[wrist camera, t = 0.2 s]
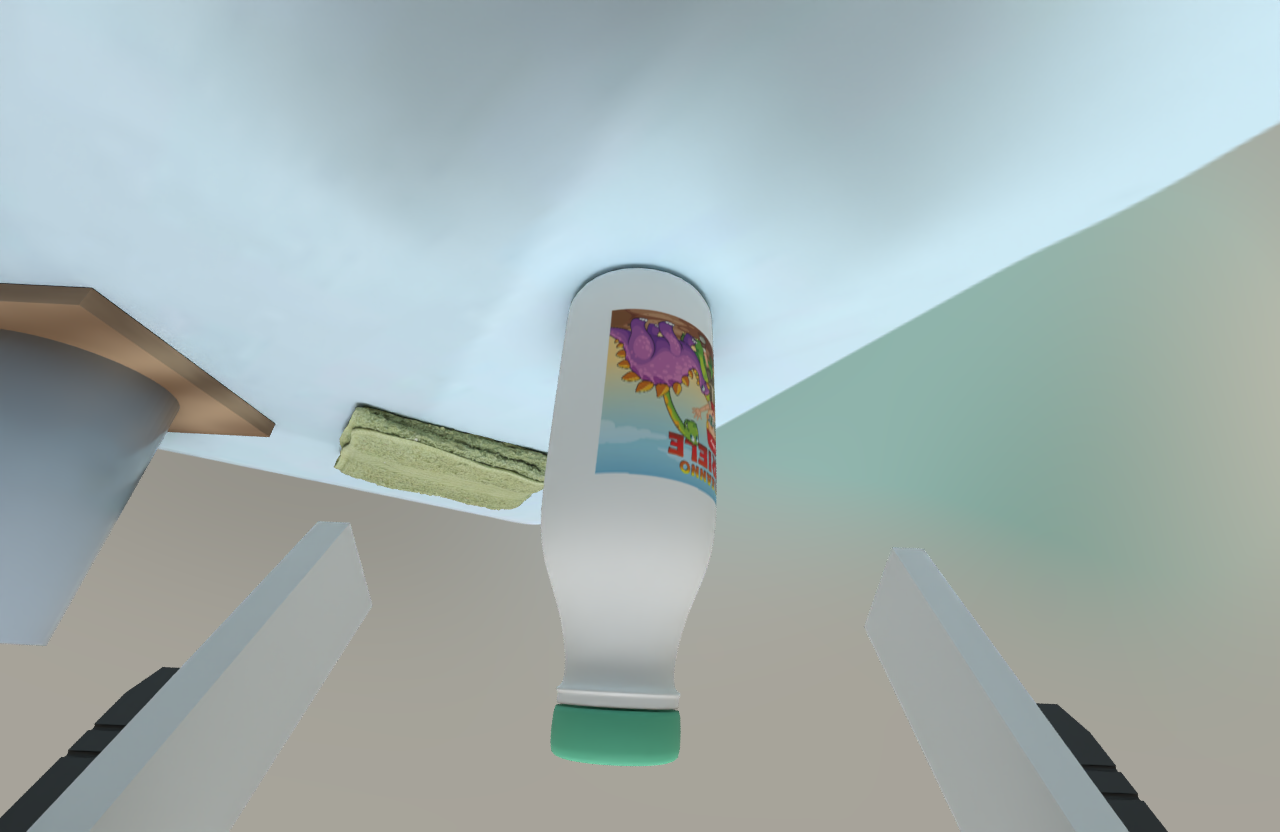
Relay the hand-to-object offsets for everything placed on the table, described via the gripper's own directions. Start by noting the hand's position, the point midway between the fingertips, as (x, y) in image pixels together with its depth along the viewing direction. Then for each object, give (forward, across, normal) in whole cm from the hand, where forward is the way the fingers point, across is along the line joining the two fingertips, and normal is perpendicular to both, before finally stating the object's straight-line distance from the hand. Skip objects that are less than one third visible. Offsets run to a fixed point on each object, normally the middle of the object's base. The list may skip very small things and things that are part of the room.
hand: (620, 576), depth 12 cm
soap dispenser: (+21, -38, -5) cm, 44 cm away
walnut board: (+22, -38, -4) cm, 44 cm away
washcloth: (+30, -17, -15) cm, 37 cm away
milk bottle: (+17, 0, +2) cm, 18 cm away
